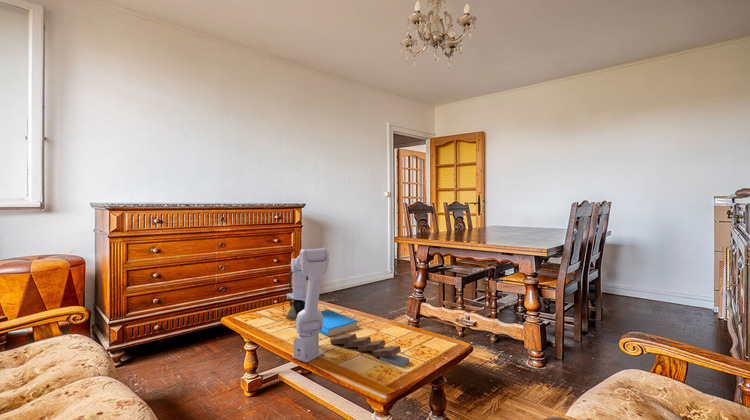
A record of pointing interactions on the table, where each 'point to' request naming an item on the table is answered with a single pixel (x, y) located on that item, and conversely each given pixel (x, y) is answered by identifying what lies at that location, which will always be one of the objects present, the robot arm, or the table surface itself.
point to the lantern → (291, 313)
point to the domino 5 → (395, 360)
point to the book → (336, 323)
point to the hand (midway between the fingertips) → (299, 317)
